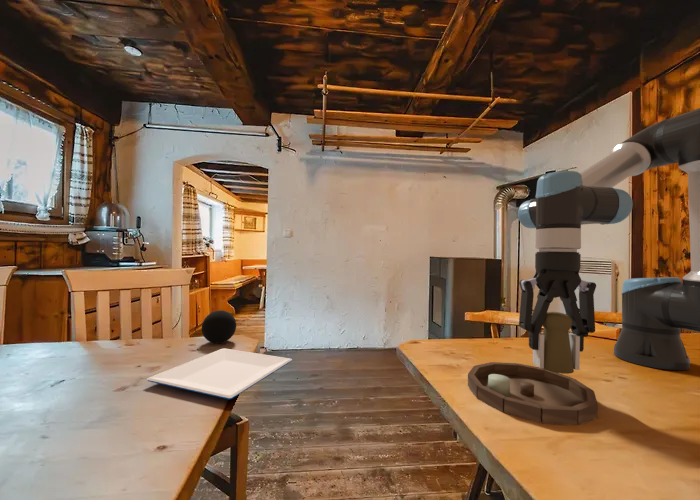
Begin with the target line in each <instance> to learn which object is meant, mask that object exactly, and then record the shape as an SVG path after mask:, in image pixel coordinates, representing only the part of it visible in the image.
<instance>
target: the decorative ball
mask: <svg viewBox="0 0 700 500" xmlns="http://www.w3.org/2000/svg"><path fill="white" fill-rule="evenodd" d="M236 330H237V321H236V319H235V316H233V314H231V312H229V311H227V310H215V311H212V312H210V313H209V314H208V315H206V316H205V318H204V319H203V321H202V324H201V333H202V335H203V337H204V339H205V340H207V341H208V342H210V343H213V344H223V343H225V342H227V341H229V340H230V339H231V338H232V337H233V336H234V335H235V332H236Z"/></svg>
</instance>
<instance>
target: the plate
mask: <svg viewBox="0 0 700 500" xmlns="http://www.w3.org/2000/svg"><path fill="white" fill-rule="evenodd" d="M292 361H293V359H292V358H289V357H282V356H275V355H269V354H264V353H258V352H257V353H256V352H253V351H251V352H250V351H244V350H238V349H232V348H231V349H230V348H225V347H224V348H221V349H218V350H215V351H213V352H210V353H208V354H205V355H202V356H200V357H197V358H195V359H192V360H190V361H187V362H184V363H182V364H179V365H177V366H175V367H172V368H169V369H167V370H164V371H162V372H160V373H157V374H155V375H151V376H150V377H148V378H146V381H147V382H150V383H154V384H160V385H164V386H168V387H172V388H176V389H180V390H186V391H189V392H190V391H191V392H194V393H199V394H202V395H203V394H204V395H208V396H210V397H211V396H212V397H215V398H216V397H217V398H221V399H225V400H232V399H234V398H236V397H237V396H239V395H240V394H242V393H243V392H245V391H247V390H248V389H250V388H251V387H253V386H255V385H256V384H258V383H259V382H261V381H262V380H264V379H266V378H267V377H269V376H270V375H272V374H274V373H275V372H277V371H278V370H280V369H282V368H283V367H285V366H286V365H288V364H290V363H291V362H292Z"/></svg>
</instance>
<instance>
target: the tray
mask: <svg viewBox="0 0 700 500" xmlns="http://www.w3.org/2000/svg"><path fill="white" fill-rule="evenodd" d="M490 374H499V375H504V376H506V377H508V378H509V379H510V396H509V397H506V396H504V395H502V394H499V393H497V392H495V391H493V390H491V389H489V388H488V375H490ZM467 386H468V388H469V390H470V392H471V393H472V395H473V396H474V397H475V398H476V399H477V400H479V401H481V402H482V403H484V404H485V405H487V406H489V407H490V408H492V409H494V410H497V411H498V412H502V413H504V414H507V415H509V416H512V417H516V418H519V419H522V420H526V421H530V422H536V423H540V424H546V425H554V426H555V425H556V426H579V425H585V424H586V423H590V422H592V421H594V420H595V419H597V417H598V399H597V397H596V396H597V395H596V393H595V391H594V390H593V389H592V388H590V387H589V386H587V385H585V384H583V383H582V382H581V381H579V380H577V379H576V378H573V377H571V376H569V375H565V374H562V373H556V372H551V371H548V370H545V369H542V368H539V367H537V366H535V365H529V364H523V363H517V362H500V361H499V362H496V361H495V362H494V361H493V362H491V361H490V362H486V363H481V364H475V365H473V366H472V367H471V369H470V370H469V372H468V373H467Z"/></svg>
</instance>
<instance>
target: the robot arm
mask: <svg viewBox="0 0 700 500" xmlns="http://www.w3.org/2000/svg"><path fill="white" fill-rule="evenodd" d="M672 164H673V165H674V164H678V165H677V166H678V169H679V170H681V171H682V172H685V173H686V174H687V184H688V185H687V189H688V190H687V191H688V214H689V215H688V217H689V219H688V220H689V246H690V249H689V250H690V271H689V272H688V273H687V274H686V275H683V276H682V279H681V278H680V277H678V276H677V277H673V276H672V277H671V276H667V277H664V276H663V277H636V278H635V277H634V278H627V279H625V280H624V281H623V283H622V291H621V331H620V333H619V335H618V337H617V339H616V342H615V344H614V346H613V355H614V356H615V357H617V358H618V359H621V360H623V361H626V362H629V363H631V364H636V365H640V366H645V367H649V368H655V369H661V370H662V369H663V370H666V371H667V370H668V371H669V370H670V371H686V370H690V368H691V358H690V357H689V355H688V353H687V351H686V348H685V345H684V342H683V340H682V337H681V330H686V331H691V332H697V333H700V107H699V108H696V109H693V110H691V111H687V112H684V113H681V114H678V115H675V116H672V117H670V118H665V119H663V120H660V121H657V122H655V123H654V124H651V125H649V126H647V127H645V128H644V129H642V130H640V131H638V132H636V134H634V135H632V136H630V137H628V138H626V140H624V141H622V142H621V143H618V144H617V145H616V146H614V148H613V147H612V149H611V150H610V152H609V153H608V155H607V156H605V157H603V158H602V159H600V160H599V161H597V162H596V163H594V164H592V165H590V166H589V167H588V168H586V169H584V170H583V171H581V172H578V171H575V170H562V171H554V172H553V171H552V172H549V173H545V174H543V175H542V176H540V177H539V178H538V180H537V182H536V191H535V196H534V197H535V198H531V199H530V200H529V199H528V200H526V201H523V202H522V203H521V204H520V206H519V208H518V211H517V217H518V220H519V222H520V224H521V225H522V226H523V227H524V228H527V229H535V248H536V249H537V250H538V251H536V252H535V255H534V258H535V259H534V260H535V261H534V267H535V274H534V275H533V277H532V278H530V279H526V280H525V279H521V280H519V282H518V283H519V287H520V290H521V293H520V305H519V306H520V308H519V317H518V327H519V328H521V329H523V330H525V331H527V332H528V346H529V348H530V349H532V364H533V365H534V366H535V367H539V368H544V335H543V333H541V331H542V327H543V326H542V325H543V323H544V320H545V317H546V314H547V312H549V308H550V305H551V303H552V302H553V301H554V298H555V299H556V298H559V300H560V301H561V302H562V305H563V308H564V311H565V314H566V315H568V316H570V318H571V320H572V326H571V329H570V330H571V332H569V340H570V347H571V354H572V361H573V368H574V371H580V366H581V365H580V363H581V362H580V357H581V355H580V354H581V353H583V351H584V349H585V348H584V347H585V343H584V342H585V341H584V340H585V338H587V337H588V336H589V334H594V333H595V332H596V317H595V316H596V315H595V297H594V295H595V291H596V288H597V284H596V283H595V282H593V281H592V282H591V281H586V280H583V279H582V278H581V276H580V275H579V274H580V270H581V262H582V261H581V257H582V255H581V253H580V252H578V250H580V249H582V226H583V225H594V224H595V225H596V224H597V225H598V224H600V225H612V224H613V225H614V224H615V225H616V224H619V223H621V222H623V221H624V220H625V219H627V218H628V217H629V216H630V214H631V212H632V210H633V205H634V203H633V198H632V196H631V195H630V194H629V192H627V191H626V190H623V189H621V188H620V189H619V188H614V187H616V186H617V185H618V184H620V183H621V182H623V181H624V180H626V179H628V178H629V177H636V176H638V175H641V174H642V173H644V172H647V171H648V170H652V169H654V168H655V169H656V168H659V167H664V166H667V165H672ZM536 287H537V288H538V289H539V290H538V293H537V297H536V298H537V300H536V303H535V306H534V294H535V293H534V290H535V289H536ZM577 289H578V298H577V295H576V292H575V291H576V290H577ZM577 302H578V303H579V306H578V304H577ZM533 306H534V309H533ZM580 352H581V353H580Z"/></svg>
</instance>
